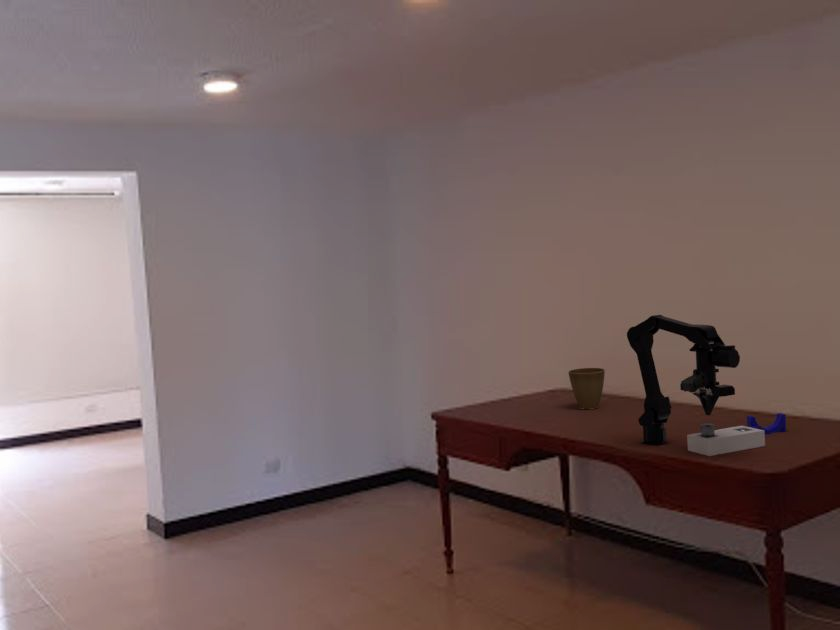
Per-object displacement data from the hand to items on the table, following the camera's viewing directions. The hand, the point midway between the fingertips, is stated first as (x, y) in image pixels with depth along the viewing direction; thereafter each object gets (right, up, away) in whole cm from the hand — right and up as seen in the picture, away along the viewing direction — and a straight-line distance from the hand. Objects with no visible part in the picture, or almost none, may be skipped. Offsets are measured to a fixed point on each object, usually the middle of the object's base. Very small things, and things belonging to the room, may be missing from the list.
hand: (708, 415), depth 270 cm
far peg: (+13, -10, +6) cm, 18 cm away
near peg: (0, -8, 0) cm, 8 cm away
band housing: (+7, -11, +3) cm, 13 cm away
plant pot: (-20, -8, +88) cm, 91 cm away
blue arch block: (+27, -9, +21) cm, 36 cm away
